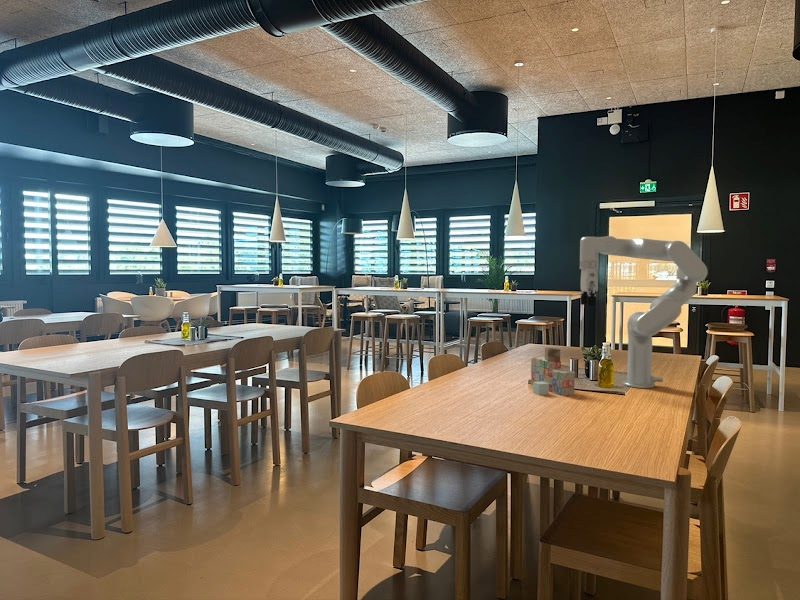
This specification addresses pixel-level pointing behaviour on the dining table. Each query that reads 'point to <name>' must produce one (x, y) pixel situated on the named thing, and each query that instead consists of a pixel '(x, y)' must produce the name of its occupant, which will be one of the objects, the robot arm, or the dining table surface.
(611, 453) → the dining table surface
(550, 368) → the stack of blocks
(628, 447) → the dining table surface
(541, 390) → the sage block
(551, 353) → the walnut cube
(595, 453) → the dining table surface
